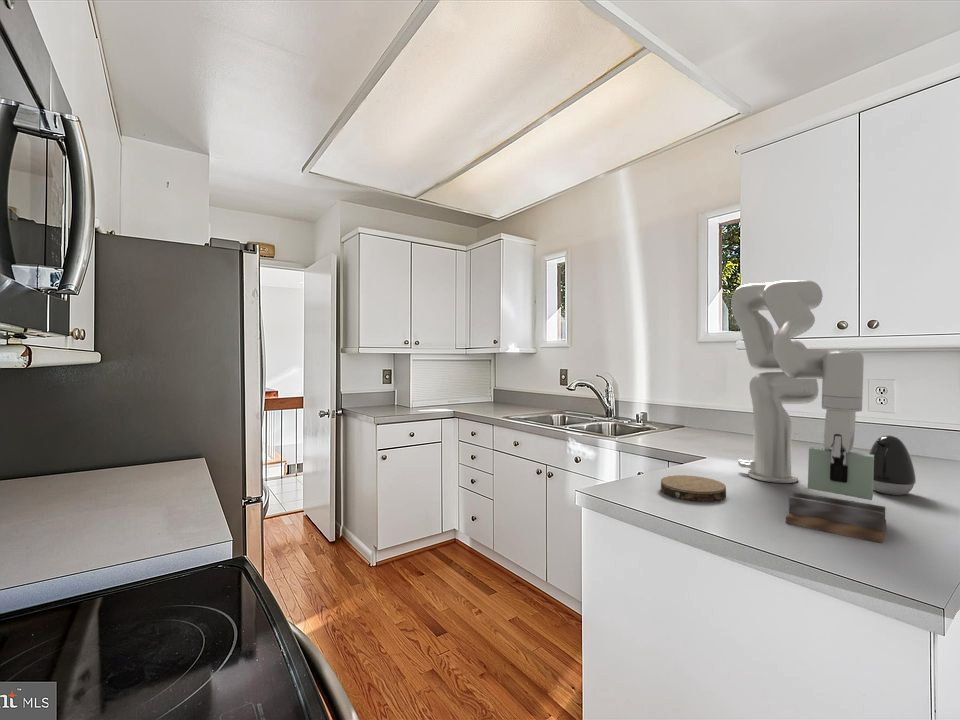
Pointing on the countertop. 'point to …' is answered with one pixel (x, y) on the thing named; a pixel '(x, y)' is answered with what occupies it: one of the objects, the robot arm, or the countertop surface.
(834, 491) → the door panel
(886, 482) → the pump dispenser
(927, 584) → the countertop surface
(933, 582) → the countertop surface
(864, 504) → the track board
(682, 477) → the brown flat round disc
